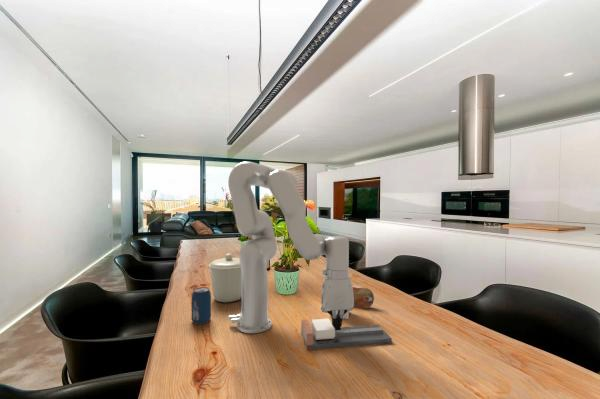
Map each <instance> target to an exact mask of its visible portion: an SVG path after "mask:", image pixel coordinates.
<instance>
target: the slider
mask: <svg viewBox="0 0 600 399" xmlns="http://www.w3.org/2000/svg"><path fill="white" fill-rule="evenodd" d="M310 327H311V329H312V332H314V334H315V340H320V339H333V338H334V337H335V328H334V327H333V325H332V321H331V320H330V318H320V319H318V318H317V319H311V324H310Z"/></svg>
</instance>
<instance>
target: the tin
mask: <svg viewBox="0 0 600 399" xmlns="http://www.w3.org/2000/svg"><path fill="white" fill-rule="evenodd" d="M352 286H353V285H352ZM353 297H354V306H353V308H361V309H368V308H370V307H372V306H373V304H374V302H375V301H374V300H375V295H374V293H373V292H372V290H371V289H369V288H368V287H361V286H353Z"/></svg>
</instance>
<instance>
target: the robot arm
mask: <svg viewBox="0 0 600 399" xmlns="http://www.w3.org/2000/svg"><path fill="white" fill-rule="evenodd" d="M297 179H298V178H297V177H296V175H294V173H292V172H289V171H286V170H284V169H279V168H274V167H270V166H267V165H264V164H260V163H257V162H253V161H242V162H239V163H237V164H236V165H235V166H234V167H233V168H232V170H231V171H230V173H229V176H228V179H227V180H228V182H227V183H228V189H229V194H230V198H231V201H232V206H233V212H234V217H235V222H236V226H237V230H238V233H239V234H240V235H242V236H244V237H252V239H250V240H248V241H246V242H244V243H243V244H242V245H241V247H240V249H239V253H238V258H239V260H240V265H241V284H242V287H241V298H240V299H241V304H240V305H241V308H240V309H241V310H240V313H238V314H236V315H235V314H228V321H229V322H231V324H233V323H236V329H237V330H238V331H239V332H242V333H245V334H261V333H264V332H265V331H268V330H269V329H271V327H272V326H273V324H272V323H273V322H272V320H271V318H269V317H268V313H269V312H268V308H269V307H268V306H269V305H268V304H269V303H268V301H269V300H268V298H269V297H268V294H269V293H268V292H269V291H268V290H269V288H268V287H269V285H268V284H269V280H268V279H269V278H268V276H269V275H268V270H267V267H266V266H267V265H266V262H269V261H270V260H271V259H273V258H274V257H275V256H276V253H277V250H278V248H277V247H278V246H277V240H276V235H275V230H274V225H273V221H272V219H271V217H270V215H269V213H267V212H266V211H264V210H262V209H261V210H260V209H259V208H258V204H257V200H256V196H255V194H254V191H253V190H252V186H255V187H261V188H264V189H268V190H269V191H270V193H271V194H272V196H273V198H274V199H275V201H276V203H277V205H278V207H279V209H280V210H281V212H282V214H283V216H284V221H285V225H286V229H287V232H288V235H289V237H290V240H291V241H292V243H293V246H294V247H295V249H296V250H297V252H298V253H299V255H300V256H301V257H302V258H303V259H305V260H307V261H315V260H316V259H318V258H320V257H322V256H324V255H325V269H324V270H321V275H322V276H324V277H323V280H322V287H321V298H320V299H321V301H320V302H321V306H320V311H321V312H322V313H324V314H328V315H329V316H330V315H331V316H332V317H331V324H332V325H333V327H334V328H335V330H336V331H337V330H341V327H343V319H344V318H343V316H344V315H345V313H346V312H348V311H349V312H352V311H353V310H354V307H353V306H354V297H353V281H352V278H351V277H350V268H349V267H350V266H349V262H350V260H349V258H350V256H349V255H350V253H349V250H350V242H349V239H348V237H346V236H343V235H342V236H341V235H326V234H321V233H313V231H312V229H311V227H310V225H309V223H308V219H307V215H306V213H307V212H306V211H307V204H306V202H305V201H304V199H303V197H302V196H301V194H300V192H299V189H297V187H298V180H297ZM336 310H338V313H337V315H336Z"/></svg>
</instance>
